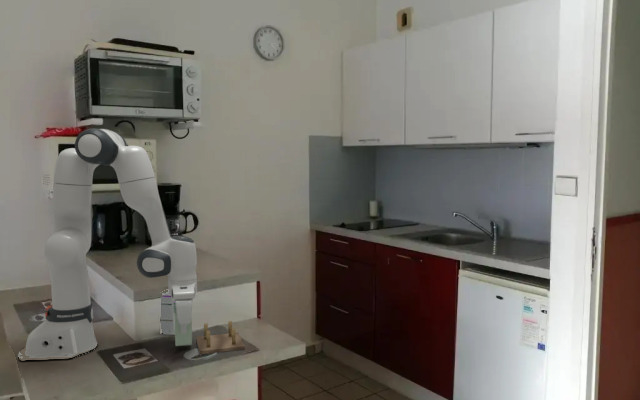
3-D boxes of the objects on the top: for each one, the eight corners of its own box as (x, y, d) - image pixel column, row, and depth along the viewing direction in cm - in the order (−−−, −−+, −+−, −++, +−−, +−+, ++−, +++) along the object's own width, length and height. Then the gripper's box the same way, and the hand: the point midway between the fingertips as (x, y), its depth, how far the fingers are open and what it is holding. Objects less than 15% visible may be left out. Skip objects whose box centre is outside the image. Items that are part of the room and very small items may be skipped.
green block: (175, 346, 167) (175, 314, 166) (175, 340, 171) (174, 310, 171) (191, 344, 168) (191, 313, 167) (191, 339, 173) (190, 309, 172)
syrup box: (174, 335, 183) (173, 293, 182) (158, 334, 184) (157, 293, 183) (182, 330, 188) (180, 289, 187) (166, 329, 189) (165, 289, 188)
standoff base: (199, 354, 165) (199, 335, 164) (196, 339, 178) (195, 322, 178) (244, 349, 169) (244, 330, 168) (238, 335, 182) (237, 318, 182)
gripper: (171, 280, 177) (172, 321, 178) (173, 295, 158) (173, 341, 159) (191, 279, 179) (191, 319, 180) (195, 294, 160) (195, 339, 161)
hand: (183, 330), depth 169 cm, fingers closed on green block, 5 cm apart
